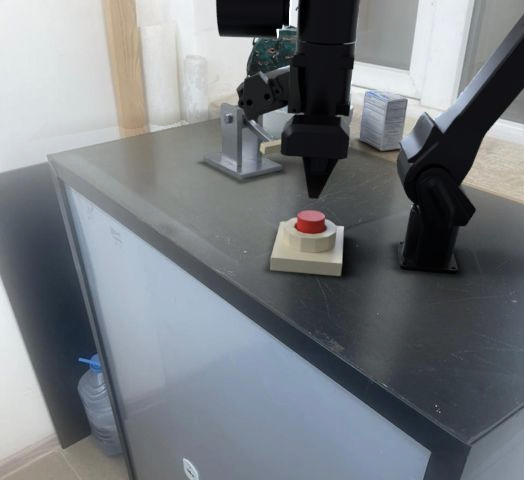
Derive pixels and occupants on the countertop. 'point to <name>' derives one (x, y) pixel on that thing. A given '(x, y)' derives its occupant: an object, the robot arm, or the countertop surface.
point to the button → (310, 222)
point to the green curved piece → (272, 51)
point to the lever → (262, 136)
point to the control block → (308, 249)
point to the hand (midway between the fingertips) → (313, 197)
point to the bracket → (240, 147)
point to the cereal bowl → (278, 118)
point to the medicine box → (383, 119)
